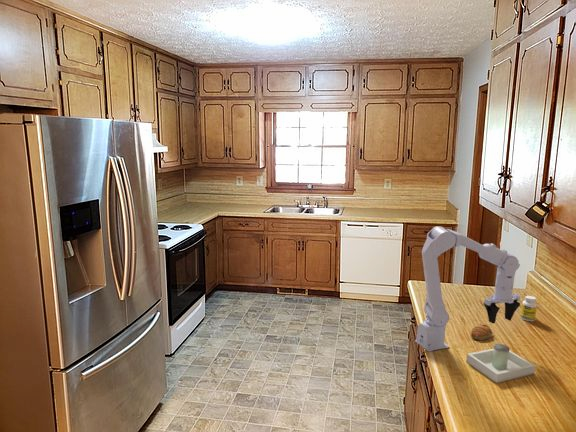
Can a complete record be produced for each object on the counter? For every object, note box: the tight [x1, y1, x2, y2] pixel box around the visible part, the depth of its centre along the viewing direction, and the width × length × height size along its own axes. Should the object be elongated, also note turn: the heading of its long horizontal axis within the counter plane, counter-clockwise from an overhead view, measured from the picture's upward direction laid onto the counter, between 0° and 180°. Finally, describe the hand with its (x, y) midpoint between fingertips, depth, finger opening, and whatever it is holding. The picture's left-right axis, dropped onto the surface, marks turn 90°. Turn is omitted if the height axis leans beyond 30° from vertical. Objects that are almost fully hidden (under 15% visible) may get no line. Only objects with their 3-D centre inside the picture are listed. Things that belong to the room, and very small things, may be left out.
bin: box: [465, 348, 536, 384], centre depth 139 cm, size 16×13×3 cm
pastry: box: [470, 323, 493, 341], centre depth 161 cm, size 9×7×4 cm
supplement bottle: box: [520, 295, 538, 322], centre depth 176 cm, size 5×5×10 cm
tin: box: [492, 343, 510, 370], centre depth 139 cm, size 5×5×7 cm
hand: (499, 320), depth 152 cm, fingers open, 7 cm apart
